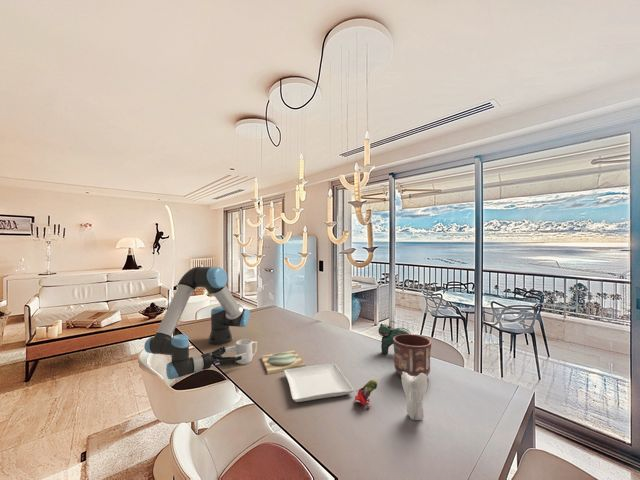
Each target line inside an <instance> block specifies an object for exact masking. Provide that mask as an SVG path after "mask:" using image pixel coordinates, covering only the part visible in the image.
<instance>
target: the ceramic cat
mask: <svg viewBox="0 0 640 480" xmlns="http://www.w3.org/2000/svg"><path fill="white" fill-rule="evenodd" d="M392 322H393V323H395V324H397V323H396V322H395V320H391V321H389V323H388V324H386V323H385V324H383V323H380V325H379V328H378V329H377V330H378V334H379V335H380V336H381V337H382V338H381V340H380V341H381V355H385V356H386V355H388V354H389V348H390V347H391V346H392V345H394V344H393V338H394V337H395V336H397V335H402V334H412V333H411V331H410V330H408V329H407V328H404V327H397V328H396V327H395V328H393V327H391V323H392Z"/></svg>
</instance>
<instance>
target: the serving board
mask: <svg viewBox="0 0 640 480" xmlns="http://www.w3.org/2000/svg"><path fill="white" fill-rule="evenodd" d="M260 359H261V362H262V363H263V366H264V368H265V372H266V373H267V375H269V374H274V373H275V374H276V373H281V372H284V370H287V369H294V368H300V367H306V363H305V362H304V360H303V359H302V358H301V357H300V356H299V354H298V353H297V352H296V350H288V351H282V352H277V353H271V354H264V355H261V356H260Z"/></svg>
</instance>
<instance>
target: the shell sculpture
mask: <svg viewBox="0 0 640 480" xmlns="http://www.w3.org/2000/svg"><path fill="white" fill-rule="evenodd" d="M402 373H403V374H402V375H401V376H400V377H401V383H402V384H401V385H402V389H403V391H404V395H405V398H406V400H405V401H406V412H407V415H408V417H410V419H411V420H413V421H421V420H424V419H425V418H424V417H425V415H424V406H423V405H424V403H423V401H424V398H425V395H426V393H427V390H428V389H427V388H428V385H429V384H428V376H426V375H425V374H424V373H420V374H419V375H418V376H416V377H414V376H410V375H409V374H408V373H407V372H406V373H405V372H402Z"/></svg>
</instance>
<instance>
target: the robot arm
mask: <svg viewBox="0 0 640 480" xmlns="http://www.w3.org/2000/svg"><path fill="white" fill-rule="evenodd" d="M227 276H228V274H227V272H226V270H225V269H224V268H222V267H218V266H196V267H193V268H191V269H188V271H187V272H185V273H184V275H182V277H181V278H180V280H179V281H178V283H177V285H176V288H177V290H176V291H175V294H174V295H173V297H172V299H171V301H170V303H169V306H168V308H167V309H166V311H165V313H164V316H163V317H162V320H161V321H160V324H159V325H158V327H157V330H156V333H155V334H154V336H150V337H149V338H148V339H147V340H145V342H144V346H143V347H144V351H145V352H146V353H149V354H153V355H165V356H171V362H169V363H167V364H166V365H165V366H166V367H165V370H166V377H167V379H168V380H174V379H179V378H182V377H184V376H188V375H191V374H197V373H198V372H201V371H204V370H205V371H206V370H208V369H210V368H211V367H212V365H214V366H215V367H221V366H228V365H235V364H236V363H237V362H236V361H239V360H242V359H246V358H247V353H243V354H240V355H236V354H235V355H234V356H223V355H224V354H229V353H233V352H236V345H233V346H228V347H226V348H225V346H222V347H219V348H217V349H215V350H213V351H211V352H206V353H202V354H198V355H195V356H192V357H190V346H189V345H190V342H189V340H190V339H189V336H188V334H185V333H183V334H176V335H175V334H174V332H175V329H176V327H177V325H178V324H179V321H180V319H181V316H182V315H183V313H184V310H185V308H186V306H187V304H188V301H189V299H190V297H191V295H192V294H193V293H195V291H196V289H197V288H205V290H206V291H207V292H208V293H209V294H212V295H213V296H214V298H215V299H216V300H217V301H218V303H219V304H220V305H219V306H215V307H213V308H212V309H211V310H210V321H211V323H210V326H211V328H210V333H209V337H208V344H210V345H223V344H227V343H229V342H231V341H232V340H233V335H232V332H231V330H230V327H237V328H245V327H246V326H247V325H248V324H249V322H250V317H251V311H250V310H249V309H248V308H244V307H243V305H242V304H240V303H238V302H237V300H236V299H235V298H234V296H233V294H232V293H231V291H230V289H229V288H228V286H227V284H228V277H227ZM173 334H174V335H173Z"/></svg>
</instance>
